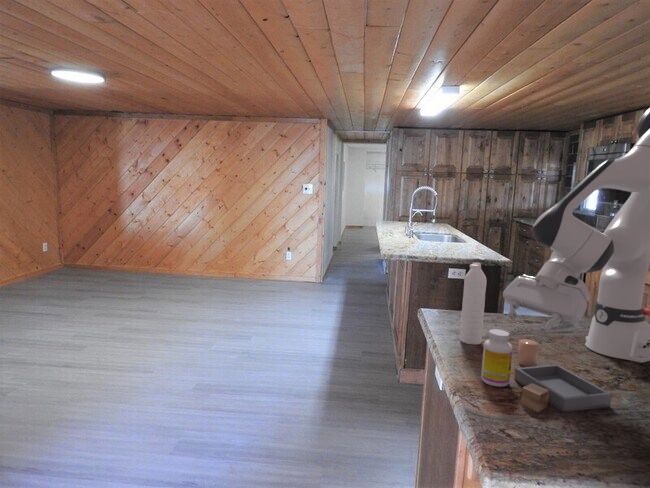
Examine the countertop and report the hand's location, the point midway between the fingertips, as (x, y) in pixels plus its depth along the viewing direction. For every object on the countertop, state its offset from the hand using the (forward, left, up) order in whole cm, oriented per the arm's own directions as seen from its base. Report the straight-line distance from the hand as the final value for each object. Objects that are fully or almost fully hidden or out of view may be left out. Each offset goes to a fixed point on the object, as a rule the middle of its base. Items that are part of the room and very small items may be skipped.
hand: (526, 323), depth 109 cm
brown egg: (-7, -7, -14) cm, 17 cm away
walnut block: (+7, +13, -14) cm, 21 cm away
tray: (-3, +9, -14) cm, 17 cm away
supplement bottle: (+9, +1, -14) cm, 17 cm away
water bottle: (0, -24, -14) cm, 28 cm away
